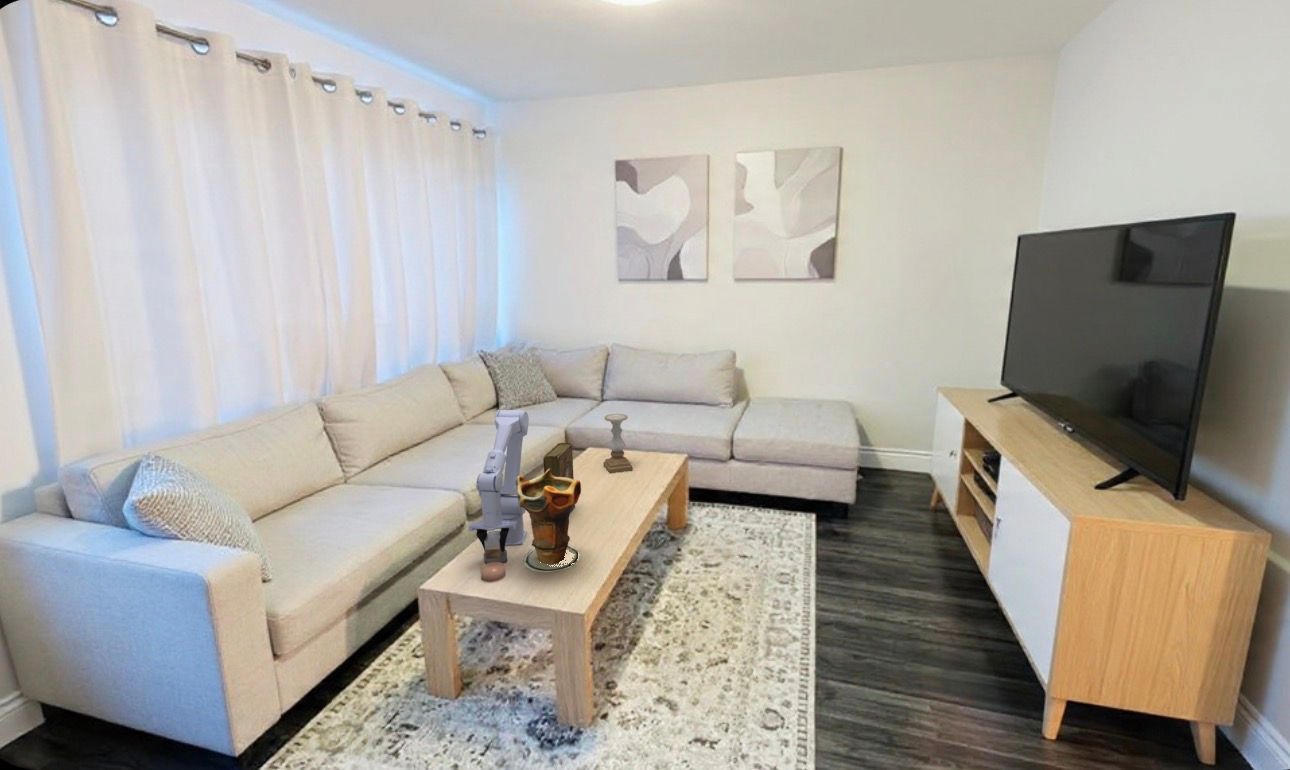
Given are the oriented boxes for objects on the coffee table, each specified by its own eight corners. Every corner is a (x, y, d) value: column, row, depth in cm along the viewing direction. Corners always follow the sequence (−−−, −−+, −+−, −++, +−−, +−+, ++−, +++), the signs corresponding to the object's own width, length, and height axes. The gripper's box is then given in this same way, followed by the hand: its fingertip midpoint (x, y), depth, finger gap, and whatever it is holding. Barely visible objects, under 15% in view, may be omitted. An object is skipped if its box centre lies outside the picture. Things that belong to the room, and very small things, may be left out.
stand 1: (486, 555, 192) (486, 548, 191) (509, 554, 192) (508, 547, 192) (482, 566, 185) (481, 559, 184) (505, 565, 185) (504, 558, 185)
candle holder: (603, 465, 273) (601, 414, 268) (626, 462, 276) (624, 412, 271) (609, 473, 263) (607, 420, 258) (633, 470, 266) (631, 418, 261)
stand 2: (484, 570, 183) (483, 562, 182) (507, 568, 183) (506, 561, 183) (479, 582, 176) (478, 574, 176) (503, 580, 176) (502, 573, 176)
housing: (485, 558, 185) (484, 540, 183) (490, 548, 191) (488, 531, 190) (500, 558, 185) (499, 540, 184) (504, 548, 191) (503, 530, 190)
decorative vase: (550, 534, 205) (548, 456, 198) (599, 557, 191) (599, 474, 184) (500, 558, 189) (496, 475, 182) (550, 585, 175) (547, 496, 168)
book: (562, 505, 230) (559, 442, 225) (576, 506, 229) (573, 443, 224) (547, 523, 214) (543, 456, 209) (561, 524, 213) (558, 457, 208)
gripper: (464, 516, 181) (468, 558, 183) (513, 514, 181) (516, 555, 184) (470, 507, 188) (473, 547, 190) (517, 505, 188) (519, 545, 191)
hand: (495, 550), depth 188 cm, fingers closed on housing, 4 cm apart
